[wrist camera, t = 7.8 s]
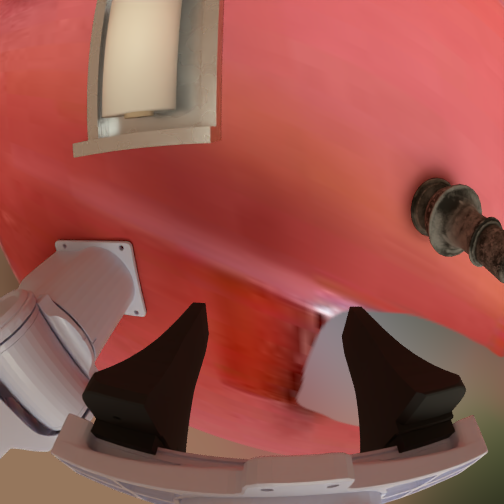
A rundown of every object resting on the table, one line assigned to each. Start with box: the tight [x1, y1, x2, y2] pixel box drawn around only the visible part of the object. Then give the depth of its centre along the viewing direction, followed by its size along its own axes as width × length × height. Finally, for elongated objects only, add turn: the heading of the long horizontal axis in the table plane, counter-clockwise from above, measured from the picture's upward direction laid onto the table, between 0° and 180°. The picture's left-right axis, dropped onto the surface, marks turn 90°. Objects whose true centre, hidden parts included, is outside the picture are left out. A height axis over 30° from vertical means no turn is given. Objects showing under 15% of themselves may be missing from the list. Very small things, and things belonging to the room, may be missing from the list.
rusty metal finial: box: [411, 178, 504, 283], centre depth 14 cm, size 6×6×12 cm
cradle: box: [73, 0, 224, 157], centre depth 13 cm, size 10×16×4 cm, turn 179°
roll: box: [102, 0, 182, 119], centre depth 13 cm, size 5×12×5 cm, turn 179°
